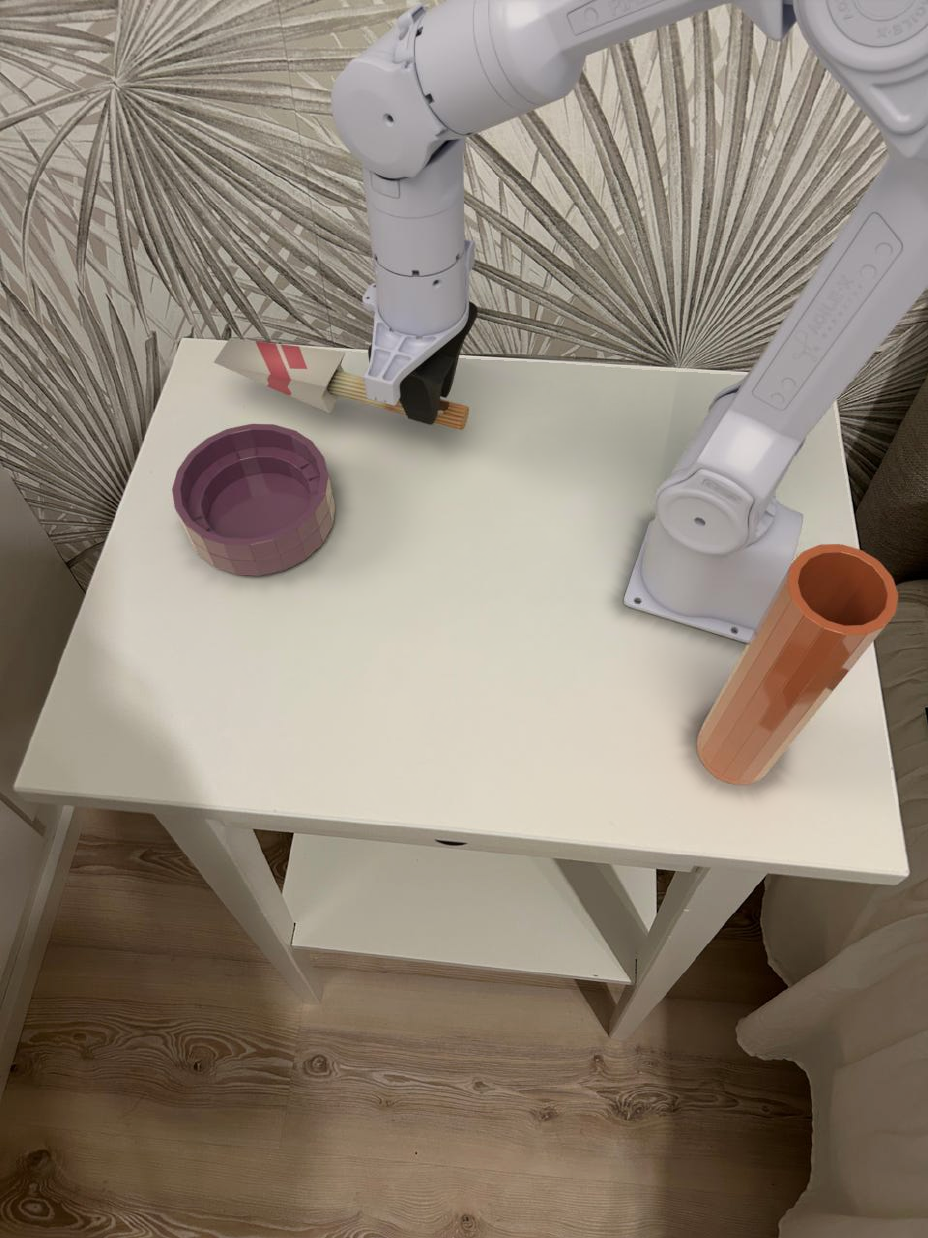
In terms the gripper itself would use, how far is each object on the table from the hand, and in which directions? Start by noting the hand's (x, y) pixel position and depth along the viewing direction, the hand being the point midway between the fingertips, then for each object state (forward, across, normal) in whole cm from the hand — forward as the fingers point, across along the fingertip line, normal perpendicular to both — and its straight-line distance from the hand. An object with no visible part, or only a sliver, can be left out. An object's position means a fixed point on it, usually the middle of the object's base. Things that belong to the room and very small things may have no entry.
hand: (428, 404), depth 66 cm
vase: (+6, +16, +28) cm, 33 cm away
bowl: (+6, +10, -10) cm, 16 cm away
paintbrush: (+2, 0, -7) cm, 7 cm away
